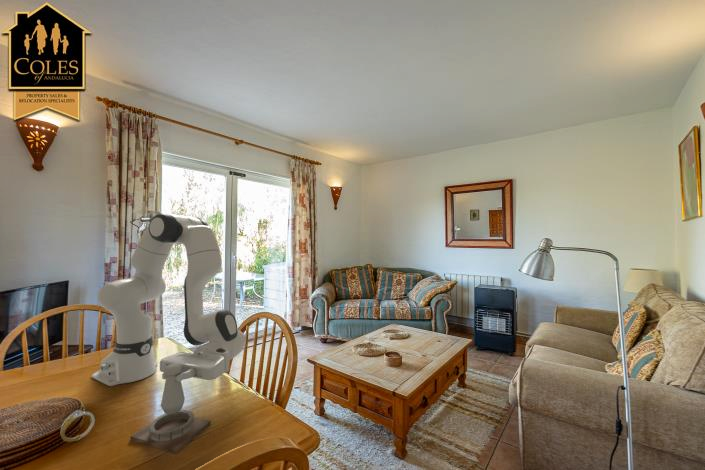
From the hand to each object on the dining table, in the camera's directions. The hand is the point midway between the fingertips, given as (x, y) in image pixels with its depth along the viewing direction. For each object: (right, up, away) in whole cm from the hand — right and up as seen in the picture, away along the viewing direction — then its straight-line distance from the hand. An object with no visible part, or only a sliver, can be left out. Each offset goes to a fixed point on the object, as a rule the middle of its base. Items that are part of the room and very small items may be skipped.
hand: (170, 377), depth 83 cm
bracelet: (-24, -16, -2) cm, 29 cm away
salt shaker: (0, -10, +1) cm, 10 cm away
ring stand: (0, -16, +1) cm, 16 cm away
